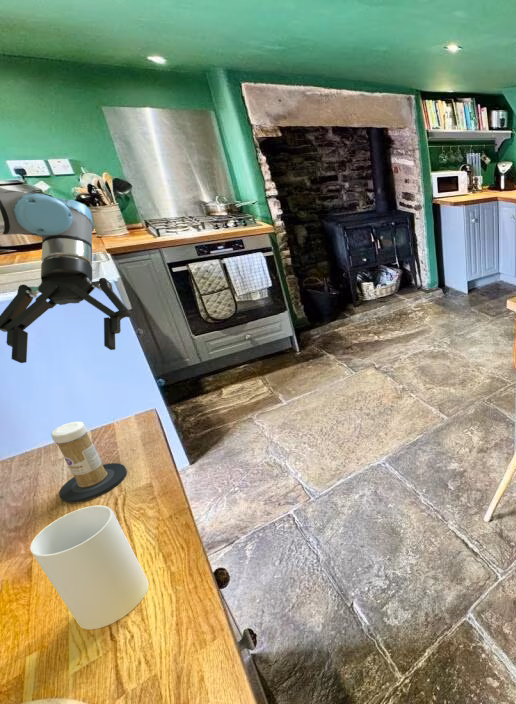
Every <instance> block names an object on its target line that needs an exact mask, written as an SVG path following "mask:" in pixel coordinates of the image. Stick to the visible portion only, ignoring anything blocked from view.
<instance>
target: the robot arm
mask: <svg viewBox="0 0 516 704" xmlns="http://www.w3.org/2000/svg"><path fill="white" fill-rule="evenodd" d="M93 228H94V224H93V216H92V211H91V210H90V208H89V207H88V206H86V205H85V204H83V203H82V202H80V201H77V200H75V199H65V198H61V197H57V198H56V197H52V196H50V195H48V194H43V193H37V192H35V193H32V192H24V191H19V190H14V189H13V190H12V189H7V188H3V187H0V235H1V236H4V235H5V236H7V235H8V236H9V235H10V236H11V235H31V236H35V237H40V238H41V258H40V259H41V266H40V281H41V282H40V284H39V285H38V286H28V285H27V284H25V283H24V284H20V285H18V288H17V293H16V295H15V296H14V297H13V298H12V300H11V301H10V302H9V304H8V305H7V306H6V307H5V309H4V310H3V311H2V313H1V314H0V331H1V332H3V333H6V345H7V346H9V347H11V360H13V361H15V362H17V363H20V364H25V363H27V358H28V339H29V338H28V337H29V336H28V335H29V333H28V332H27V331H25V330H26V329H27V328H28V327H30V326H31V325H32V324H33V323H34V322H35V321H36V320H38V319H39V318H40V317H41V316H43V314H45V313H46V312H47V311H48V310H50V309H53V308H54V307H56V306H57V305H59V306H65V305H68V304H80V302H83V301H85V302H87V303H88V304H90V305H92V306H93V307H94V308H95V309H97V310H99V311H100V312H102V313H103V314H104V315H106V316H107V317H103V346H104V347H105V348H107V349H108V350H110V351H115V350H116V335H118V334H120V333H121V331H122V330H121V321H122V320H123V319H124V318H129V317H130V318H131V316H132V312H131V311H130V310H129V309H128V308H127V306H126V305H125V304H124V303H123V302H122V300H121V299H120V298H119V296H118V295H117V293H116V292H114V290H113V289H114V288H113V285H112V283H111V282H110V281H109V280H108V279H107V278H105V277H100V278H98V280H97V281H93V266H92V265H93ZM95 288H96V289H98V290H99V291H102V292H103V293H104V294H105V296H106V297H107V298H108V299H109V300H110V302H111V303H112V304H113V305H114V307H115V308H116V309H117V311H114V310H112V309H111V308H110V307H108V306H106V305H105V304H103V303H102V302H100V301H99V300H98V299H96V297H95V298H94V297H93V296H92V295H91V293H93V291H94V290H95ZM38 294H39V295H38ZM37 295H38V296H37ZM34 298H35V301H34V302H33V300H34ZM47 300H48V301H47Z"/></svg>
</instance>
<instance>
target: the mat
mask: <svg viewBox="0 0 516 704" xmlns="http://www.w3.org/2000/svg"><path fill="white" fill-rule="evenodd" d="M102 465H103V467H104V469H105V471H107V476H106V477H105V478H104V479H103V480H102V481H101V482H99V483H97V484H95V485H93V486H89V487H79V486H78V485H77V481H76V479H75V477H74V476H73V477H71V478H70V479H69V480H67V482H65V483H64V484H63V485H62V487H61V488H60V489H59V491H58V496H59V498H60V500H61V501H63V502H64V503H68V504H75V503H82V502H87V501H90V500H93V499H96V498H98V497H100V496H102V495H105V494H107V493H108V492H110V491H111V490H113V489H114V488H116V487H117V486H118V485H120V484H121V483H122V482H123V481H124V479H125V478H126V477H127V474H128V470H127V468H126V466H125V465H123V464H121V463H118V462H117V463H116V462H113V463H104V464H102Z"/></svg>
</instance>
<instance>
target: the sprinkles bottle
mask: <svg viewBox="0 0 516 704" xmlns="http://www.w3.org/2000/svg"><path fill="white" fill-rule="evenodd" d="M50 436H51V438H52V440H53V442H54V443H55V444H56V445H57V446H58V448H59V451H60V452H61V454H62V456H63V459H64V460H65V463H66V465H67V466H68V468H69V470H70V473H71V474H72V475H73V477H75V479H76V481H77V485H78V486H79V487H89V486H93V485H95V484H97V483H99V482H101V481H102V480H103V479H104V478H105V477H106V476H107V471H105V469H104V467H103V465H104V464H103V463H102V460H101V458H100V455H99V453H98V451H97V449H96V447H95V445H94V443H93V442H92V440H91V438H90V436H89V434H88V429H87V426H86V425H85V423H84V422H82V421H71V422H67V423H64V424H61V425H59V426H58V427H56V428H54V429H53V430H52V431H51V433H50Z"/></svg>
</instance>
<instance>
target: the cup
mask: <svg viewBox="0 0 516 704" xmlns="http://www.w3.org/2000/svg"><path fill="white" fill-rule="evenodd" d="M126 536H127V535H126V534H125V533H124V531H123V529H122V526H121V524H120V522H119V521H118V519H117V516H116V514H115V513H114V510H112V508H110V507H109V506H108V505H101V504H100V505H99V504H98V505H89V506H86V507H81V508H79V509H76V510H73V511H71V512H69V513H67V514H65V515H62V516H61V517H59V518H57V519H56V520H54V521H52V522H51V523H49V524H47V526H45V527H44V528H43V529H41V530H40V531H39V532H38V533H37V534H36V536H35V537H34V538H33V540H32V541H31V543H30V545H29V549H30V553H31V555H32V557H33V558H34V559H35V561H36V563H37V564H38V565H39V567H40V569H41V570H42V572H43V573H44V574H45V576H46V578H47V579H48V582H50V584H51V585H52V587H53V588H54V590H55V591H56V593H57V594H58V596H59V598H60V599H61V601H62V602H63V603H64V605H65V606H66V608H67V609H68V611H69V612H70V615H72V618H74V620H75V622H76V623H77V624H78V626H79V628H81V629H84V630H88V631H89V630H98V629H101V628H104V627H107V626H110V625H112V624H114V623H116V622H118V621H119V620H121V619H122V618H124V617H125V616H127V615H128V614H130V613H131V612H132V611H133V610H134V609H135V608H136V607H137V606H138V605H139V604H140V603H141V602H142V601H143V599H144V598H145V596H146V595H147V593H148V590H149V585H150V584H149V580H148V578H147V576H146V574H145V572H144V570H143V568H142V566H141V564H140V562H139V560H138V558H137V556H136V554H135V553H134V550H133V548H132V547H131V544H130V542H129V541H128V539H127V537H126Z"/></svg>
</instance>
